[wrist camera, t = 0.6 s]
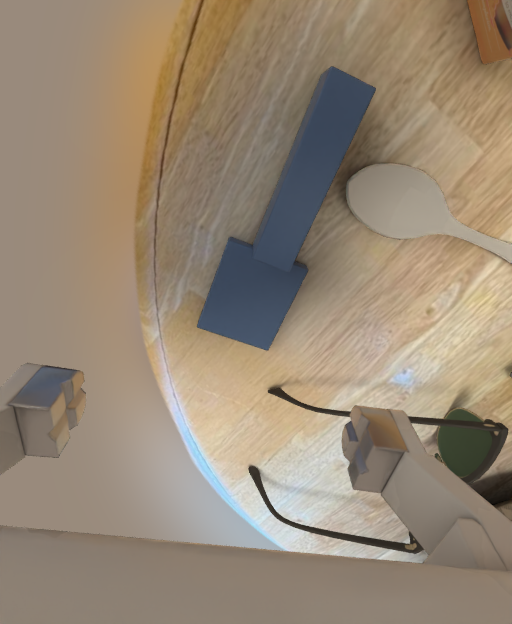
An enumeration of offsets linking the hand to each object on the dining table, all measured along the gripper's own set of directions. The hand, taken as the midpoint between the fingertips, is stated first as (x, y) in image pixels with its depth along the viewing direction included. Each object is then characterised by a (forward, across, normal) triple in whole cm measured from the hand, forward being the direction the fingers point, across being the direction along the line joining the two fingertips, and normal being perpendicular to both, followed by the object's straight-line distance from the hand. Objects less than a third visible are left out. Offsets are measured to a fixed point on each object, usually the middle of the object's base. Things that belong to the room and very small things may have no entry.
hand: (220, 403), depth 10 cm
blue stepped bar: (+14, -2, -2) cm, 14 cm away
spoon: (+14, -16, -3) cm, 21 cm away
